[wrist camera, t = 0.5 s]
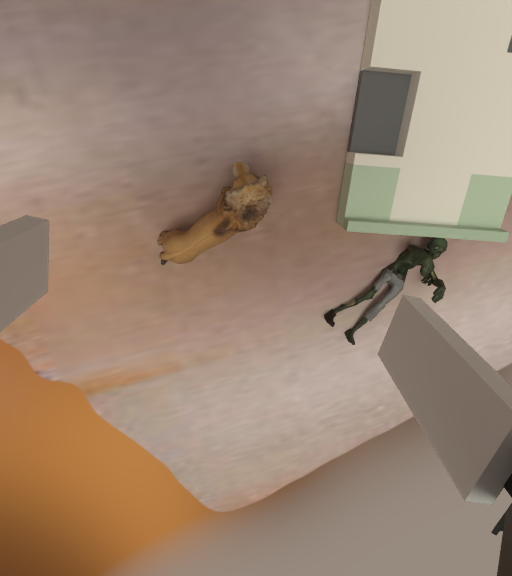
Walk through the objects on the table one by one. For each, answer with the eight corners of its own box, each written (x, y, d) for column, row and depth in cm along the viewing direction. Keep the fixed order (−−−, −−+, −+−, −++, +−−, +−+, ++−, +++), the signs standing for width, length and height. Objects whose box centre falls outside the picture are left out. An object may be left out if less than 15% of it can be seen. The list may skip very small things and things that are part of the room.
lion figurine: (245, 149, 37) (245, 154, 29) (280, 189, 39) (290, 206, 31) (145, 246, 41) (120, 276, 32) (181, 279, 42) (166, 316, 34)
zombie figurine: (334, 342, 39) (451, 234, 35) (321, 313, 45) (419, 219, 41) (368, 371, 40) (485, 271, 36) (352, 339, 46) (449, 251, 42)
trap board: (404, -205, 28) (432, -263, 24) (606, -176, 29) (667, -228, 25) (336, 220, 40) (346, 231, 36) (479, 230, 41) (506, 242, 37)
